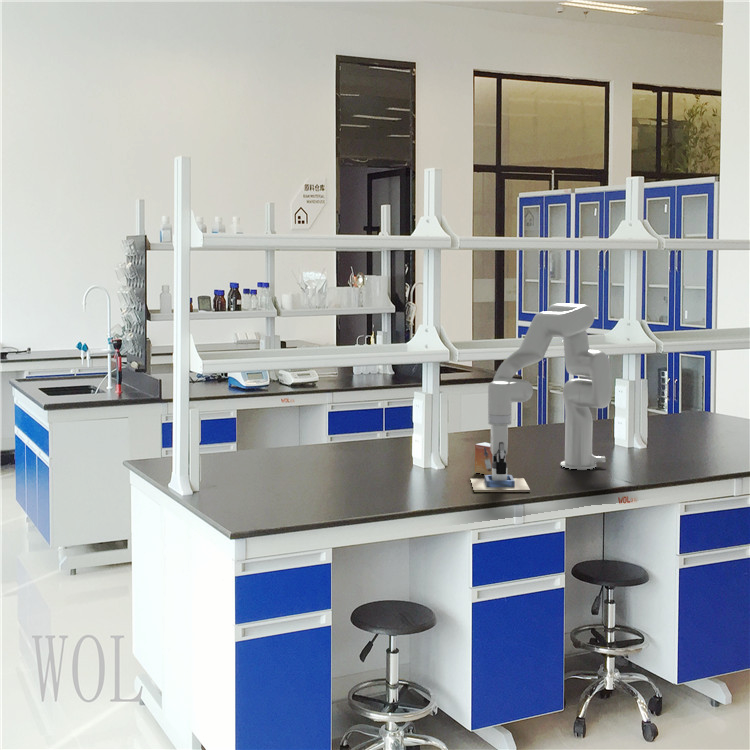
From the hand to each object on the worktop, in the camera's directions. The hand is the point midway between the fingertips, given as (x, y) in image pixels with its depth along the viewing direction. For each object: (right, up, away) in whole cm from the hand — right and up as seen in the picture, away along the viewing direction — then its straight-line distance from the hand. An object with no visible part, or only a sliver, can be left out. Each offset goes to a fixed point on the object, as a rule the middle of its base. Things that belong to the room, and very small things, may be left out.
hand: (499, 470), depth 323 cm
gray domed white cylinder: (0, -4, 0) cm, 4 cm away
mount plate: (0, -5, +1) cm, 5 cm away
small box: (-2, -3, +19) cm, 20 cm away
